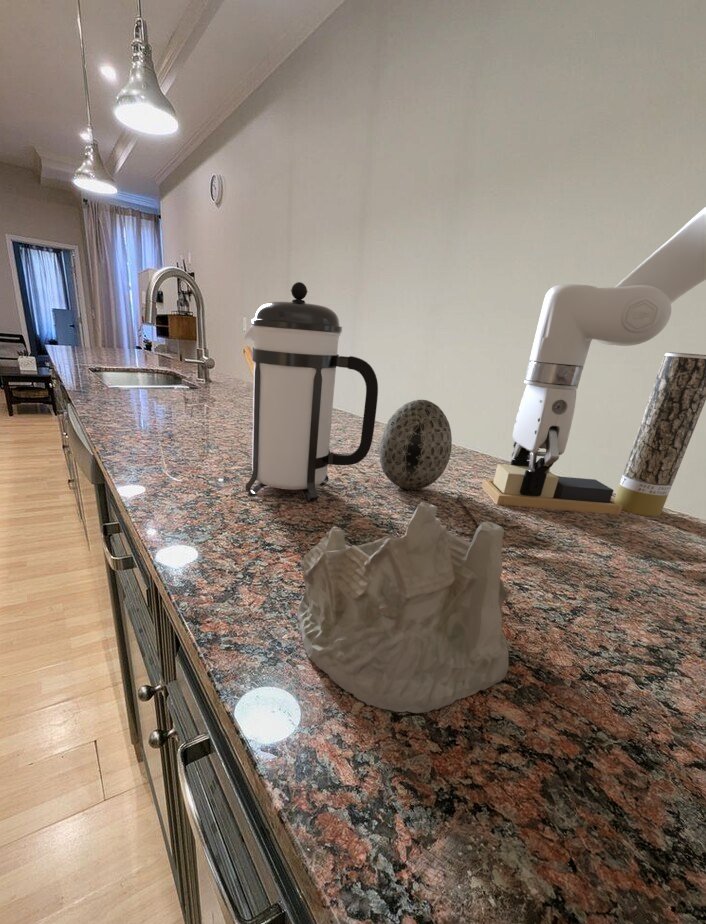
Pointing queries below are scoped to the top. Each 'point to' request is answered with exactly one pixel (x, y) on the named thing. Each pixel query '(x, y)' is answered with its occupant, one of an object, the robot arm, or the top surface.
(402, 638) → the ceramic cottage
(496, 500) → the tray
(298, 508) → the top surface
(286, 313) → the coffee press
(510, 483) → the beige pad
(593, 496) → the charcoal pad
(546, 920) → the top surface
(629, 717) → the top surface
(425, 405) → the decorative egg
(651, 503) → the paper tube
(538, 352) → the robot arm
